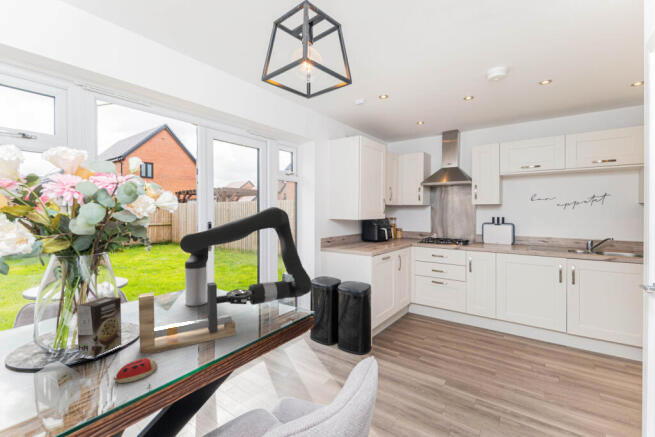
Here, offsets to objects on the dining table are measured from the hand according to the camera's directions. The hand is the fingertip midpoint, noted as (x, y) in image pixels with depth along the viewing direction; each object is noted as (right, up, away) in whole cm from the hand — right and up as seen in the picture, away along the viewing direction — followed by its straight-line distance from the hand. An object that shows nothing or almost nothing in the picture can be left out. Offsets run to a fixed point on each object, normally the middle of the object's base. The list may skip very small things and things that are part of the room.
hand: (215, 300), depth 104 cm
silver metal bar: (-7, -9, -4) cm, 12 cm away
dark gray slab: (-1, -10, 0) cm, 10 cm away
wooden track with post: (-7, -12, -4) cm, 14 cm away
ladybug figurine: (-11, -13, -25) cm, 31 cm away
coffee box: (-30, -13, -13) cm, 36 cm away
